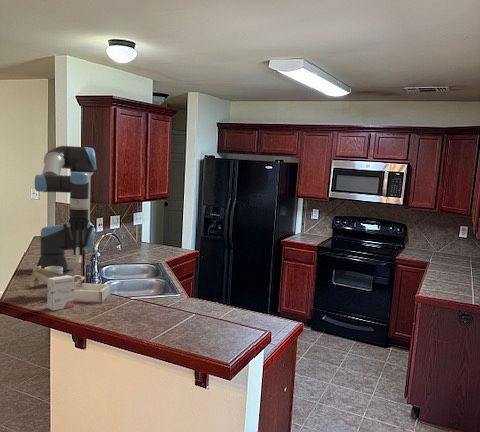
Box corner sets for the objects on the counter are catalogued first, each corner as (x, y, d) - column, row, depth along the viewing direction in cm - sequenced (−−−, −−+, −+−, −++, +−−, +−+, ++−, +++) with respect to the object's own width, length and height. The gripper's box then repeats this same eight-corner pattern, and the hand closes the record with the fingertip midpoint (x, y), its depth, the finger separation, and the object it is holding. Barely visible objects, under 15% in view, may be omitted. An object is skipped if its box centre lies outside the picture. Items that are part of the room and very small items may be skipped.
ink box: (68, 304, 176) (69, 274, 175) (74, 306, 173) (74, 276, 172) (46, 308, 170) (46, 277, 169) (52, 311, 167) (52, 279, 166)
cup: (52, 289, 197) (52, 271, 196) (36, 287, 198) (36, 269, 197) (66, 283, 207) (66, 266, 206) (50, 282, 209) (51, 265, 208)
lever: (45, 277, 198) (49, 261, 198) (82, 288, 198) (86, 272, 198) (29, 286, 183) (33, 268, 183) (69, 297, 183) (73, 279, 183)
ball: (106, 293, 188) (99, 296, 188) (102, 286, 188) (96, 290, 188) (104, 295, 185) (97, 299, 185) (100, 288, 184) (93, 292, 185)
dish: (82, 293, 192) (82, 283, 192) (110, 294, 192) (111, 284, 191) (71, 301, 180) (71, 290, 180) (101, 302, 180) (102, 291, 180)
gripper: (60, 208, 188) (59, 263, 191) (91, 210, 188) (90, 265, 191) (67, 206, 196) (66, 259, 198) (97, 208, 195) (96, 261, 198)
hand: (78, 262), depth 194 cm, fingers closed
